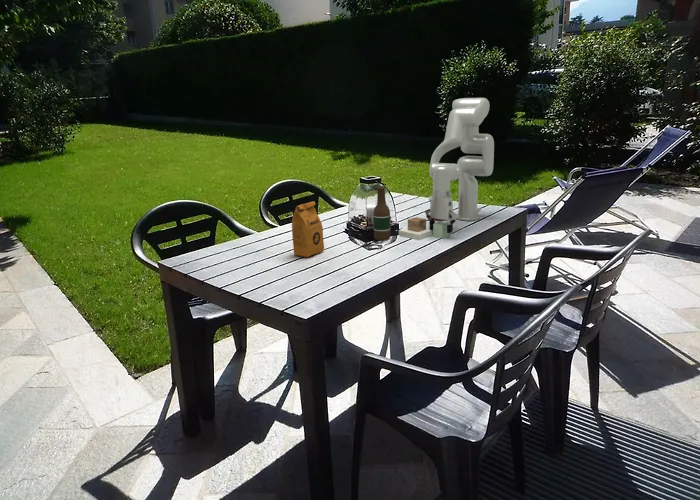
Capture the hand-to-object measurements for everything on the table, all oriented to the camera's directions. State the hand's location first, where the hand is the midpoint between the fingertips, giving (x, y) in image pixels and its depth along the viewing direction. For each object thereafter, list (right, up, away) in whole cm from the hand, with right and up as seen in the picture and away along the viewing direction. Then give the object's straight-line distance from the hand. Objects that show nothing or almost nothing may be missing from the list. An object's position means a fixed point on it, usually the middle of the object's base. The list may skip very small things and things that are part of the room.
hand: (440, 231), depth 231 cm
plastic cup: (+4, +7, +30) cm, 31 cm away
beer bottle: (-27, -3, +2) cm, 27 cm away
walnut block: (-10, +1, +4) cm, 11 cm away
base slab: (-10, -2, +5) cm, 11 cm away
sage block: (0, -2, +1) cm, 3 cm away
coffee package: (-59, -10, -15) cm, 61 cm away
